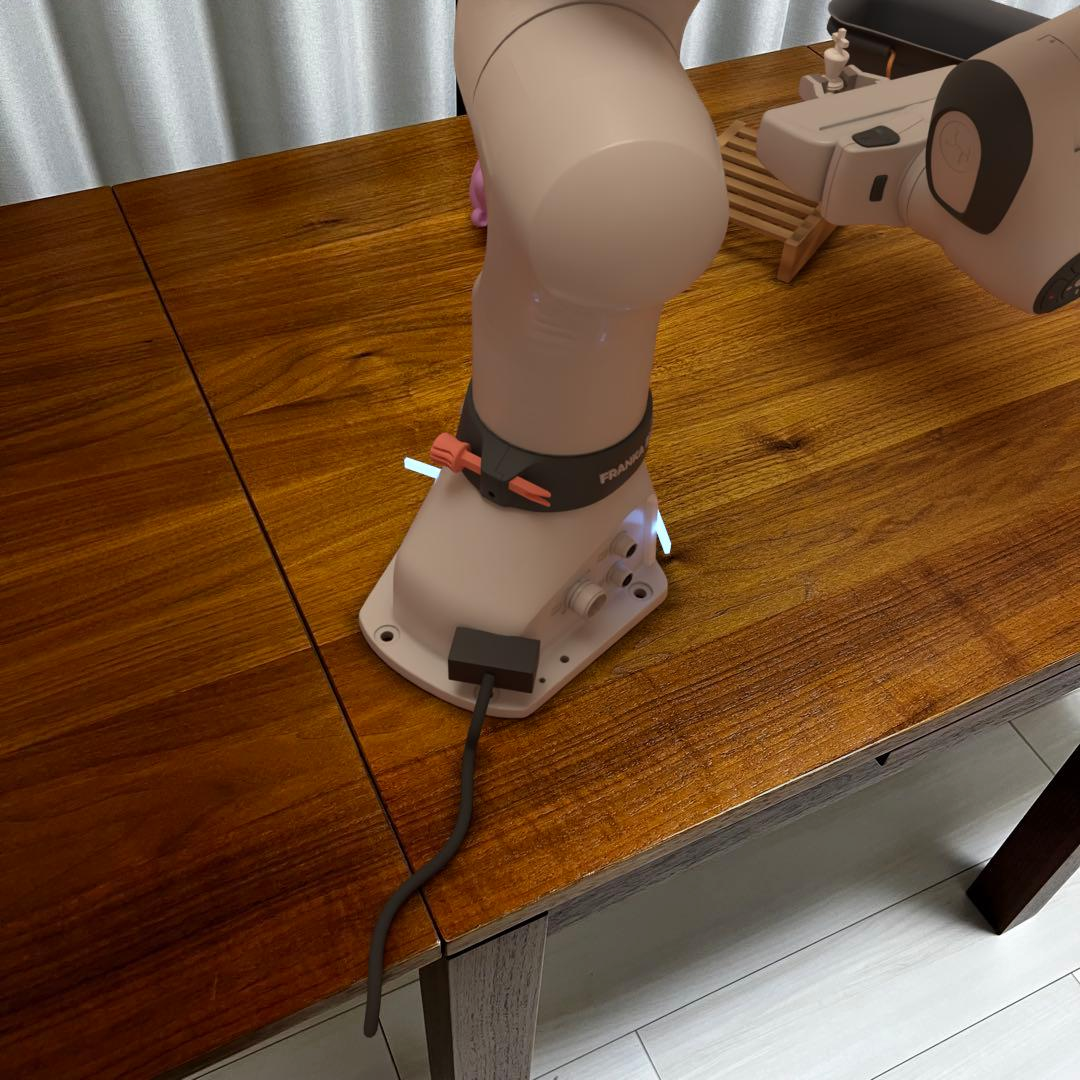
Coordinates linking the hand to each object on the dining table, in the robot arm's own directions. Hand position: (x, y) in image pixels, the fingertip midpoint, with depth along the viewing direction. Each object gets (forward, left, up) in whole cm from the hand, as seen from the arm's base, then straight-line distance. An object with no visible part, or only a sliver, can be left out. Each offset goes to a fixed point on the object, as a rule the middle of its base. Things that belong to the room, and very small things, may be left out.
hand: (823, 78), depth 97 cm
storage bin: (+22, -3, -17) cm, 28 cm away
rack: (+4, +5, -17) cm, 18 cm away
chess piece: (0, -1, -6) cm, 6 cm away
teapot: (-9, +22, -17) cm, 29 cm away
